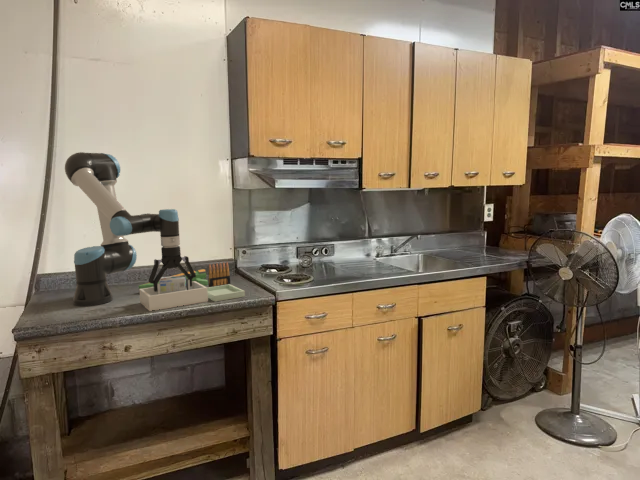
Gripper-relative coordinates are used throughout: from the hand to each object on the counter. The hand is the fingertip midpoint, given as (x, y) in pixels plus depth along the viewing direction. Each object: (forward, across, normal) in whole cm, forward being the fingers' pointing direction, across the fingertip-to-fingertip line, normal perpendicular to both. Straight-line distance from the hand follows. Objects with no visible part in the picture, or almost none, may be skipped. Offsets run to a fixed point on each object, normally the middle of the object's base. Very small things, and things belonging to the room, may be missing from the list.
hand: (173, 296), depth 190 cm
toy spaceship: (+3, +7, +26) cm, 27 cm away
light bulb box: (+3, 0, 0) cm, 3 cm away
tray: (+2, +21, -2) cm, 21 cm away
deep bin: (+2, 0, 0) cm, 2 cm away
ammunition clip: (+3, +26, +14) cm, 30 cm away
